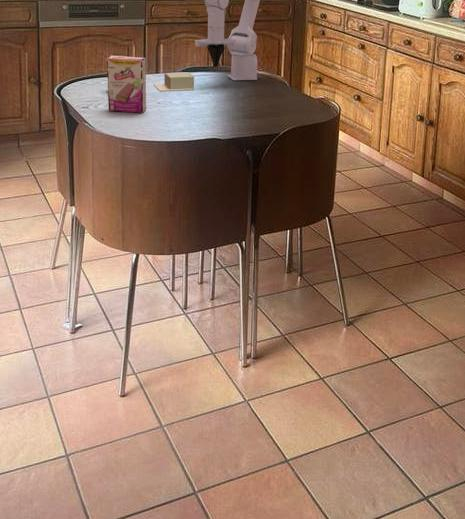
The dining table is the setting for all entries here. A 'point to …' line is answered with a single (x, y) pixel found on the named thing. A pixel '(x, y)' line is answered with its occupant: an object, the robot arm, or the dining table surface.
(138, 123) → the dining table surface
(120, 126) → the dining table surface
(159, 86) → the mat
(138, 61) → the candy bar box
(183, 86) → the sage block
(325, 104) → the dining table surface
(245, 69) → the robot arm
